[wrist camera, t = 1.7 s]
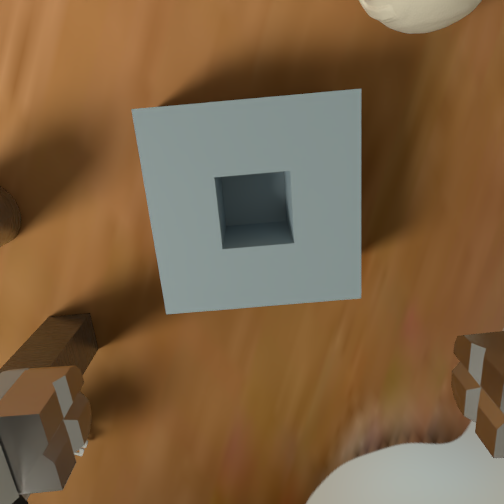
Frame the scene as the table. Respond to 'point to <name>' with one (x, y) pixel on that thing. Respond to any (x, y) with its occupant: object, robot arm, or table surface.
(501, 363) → the robot arm
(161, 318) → the table surface
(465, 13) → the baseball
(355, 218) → the socket block
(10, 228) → the round bit
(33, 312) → the table surface
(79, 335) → the square bit
